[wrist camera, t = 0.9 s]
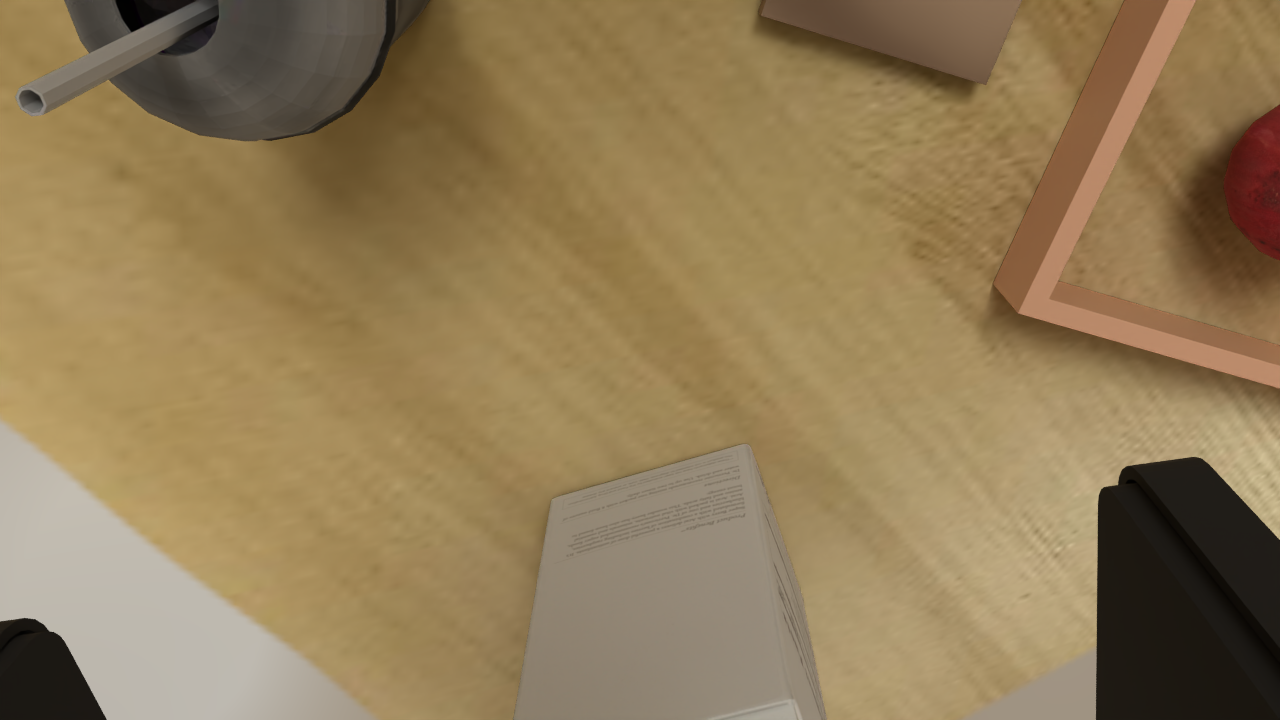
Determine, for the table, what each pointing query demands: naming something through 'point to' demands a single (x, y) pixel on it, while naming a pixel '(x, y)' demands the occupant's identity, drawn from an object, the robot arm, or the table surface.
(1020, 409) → the table surface
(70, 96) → the beverage cup
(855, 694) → the table surface
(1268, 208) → the onion
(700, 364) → the table surface
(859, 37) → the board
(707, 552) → the supplement box
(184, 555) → the table surface
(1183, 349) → the terracotta crate
